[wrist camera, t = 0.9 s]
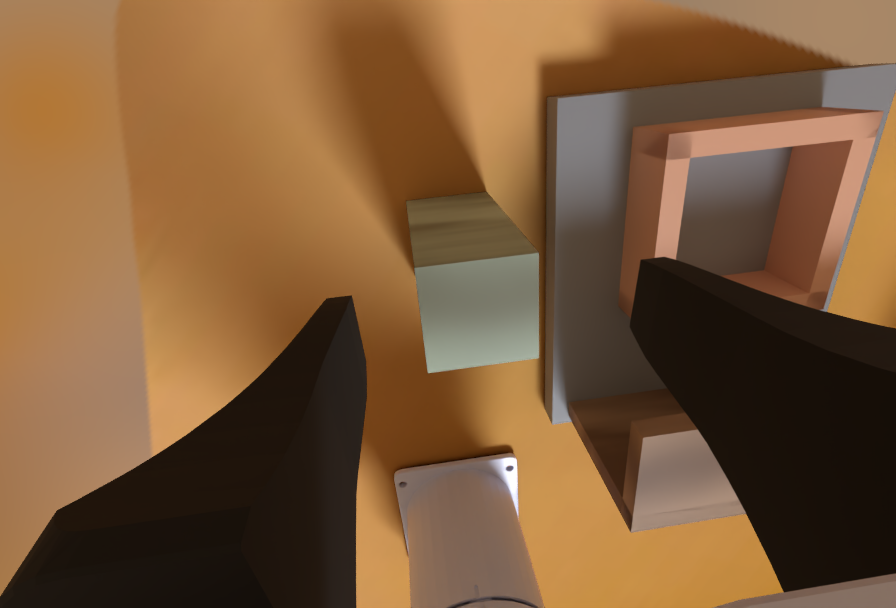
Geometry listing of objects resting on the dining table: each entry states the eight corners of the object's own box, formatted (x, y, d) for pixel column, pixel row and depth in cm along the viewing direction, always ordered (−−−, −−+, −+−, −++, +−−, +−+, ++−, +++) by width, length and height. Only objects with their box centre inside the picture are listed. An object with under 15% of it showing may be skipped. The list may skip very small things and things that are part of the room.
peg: (490, 267, 25) (538, 358, 17) (415, 276, 24) (427, 373, 16) (486, 191, 23) (539, 252, 15) (405, 200, 23) (414, 268, 15)
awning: (789, 383, 29) (923, 484, 21) (568, 415, 28) (630, 532, 21) (813, 303, 26) (972, 388, 19) (571, 336, 25) (643, 437, 18)
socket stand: (784, 374, 30) (845, 419, 26) (544, 408, 29) (569, 461, 25) (873, 64, 22) (979, 60, 18) (546, 97, 21) (583, 101, 17)
